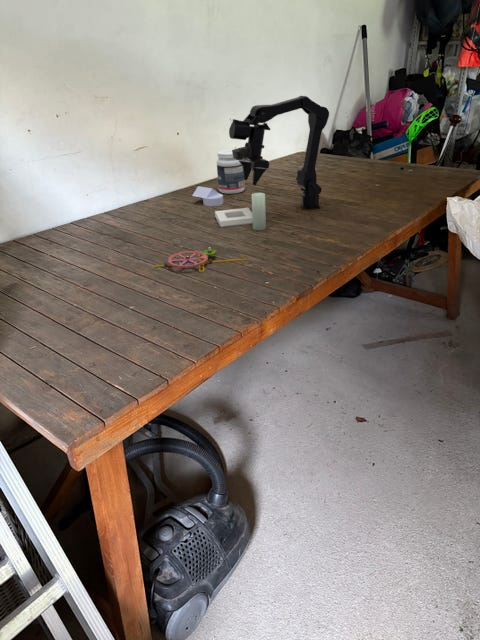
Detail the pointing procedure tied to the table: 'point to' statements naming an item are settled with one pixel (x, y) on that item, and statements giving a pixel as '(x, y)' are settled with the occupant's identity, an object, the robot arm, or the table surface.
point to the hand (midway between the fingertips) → (249, 182)
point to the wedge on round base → (209, 196)
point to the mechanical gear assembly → (194, 259)
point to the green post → (258, 211)
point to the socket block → (234, 217)
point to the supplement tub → (229, 173)
